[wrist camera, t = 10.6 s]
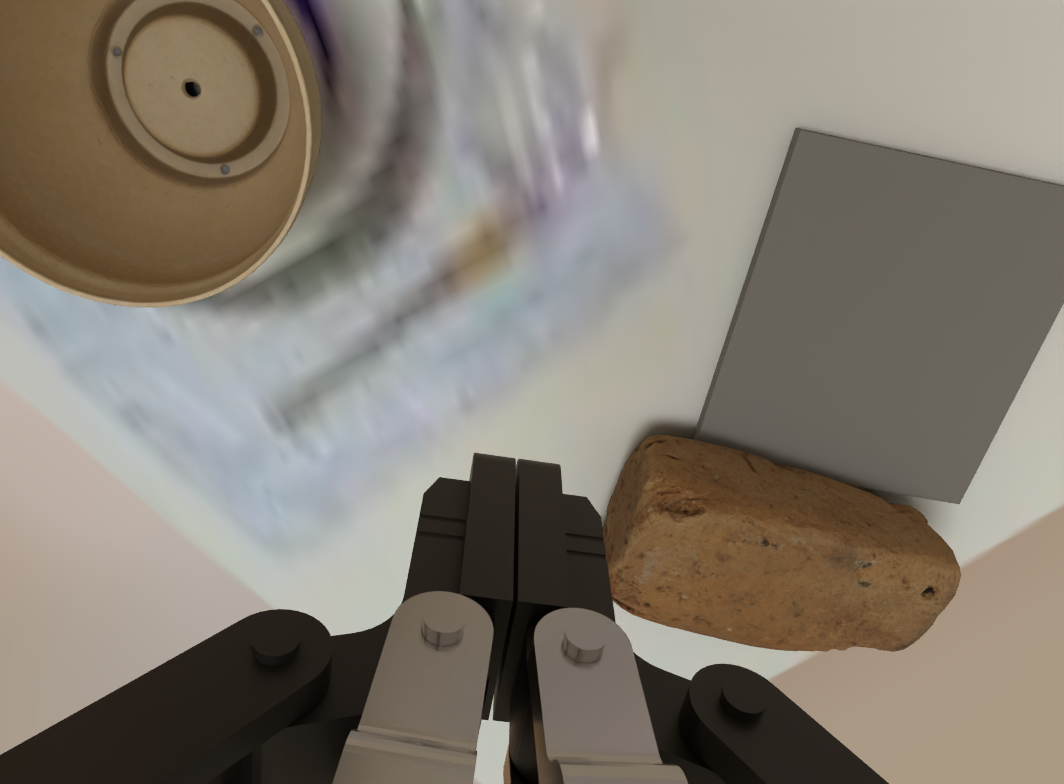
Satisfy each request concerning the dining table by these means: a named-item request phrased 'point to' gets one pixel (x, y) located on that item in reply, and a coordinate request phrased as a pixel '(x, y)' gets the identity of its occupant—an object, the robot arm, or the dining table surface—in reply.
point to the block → (769, 552)
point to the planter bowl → (152, 143)
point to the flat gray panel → (887, 316)
